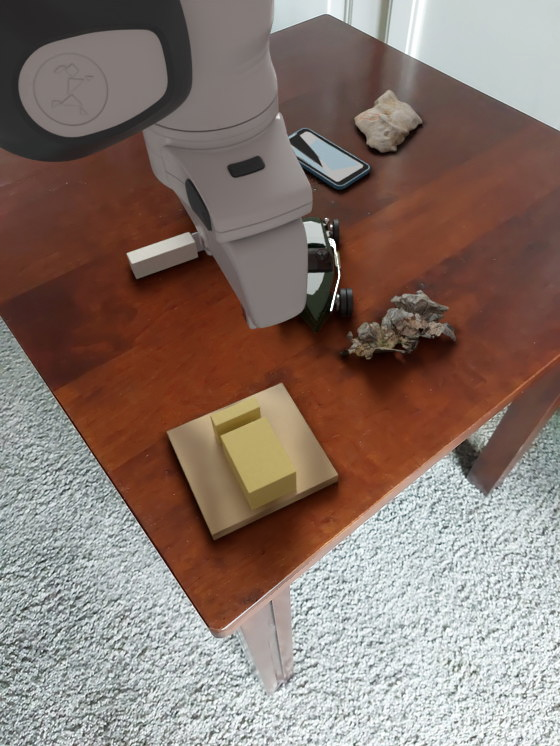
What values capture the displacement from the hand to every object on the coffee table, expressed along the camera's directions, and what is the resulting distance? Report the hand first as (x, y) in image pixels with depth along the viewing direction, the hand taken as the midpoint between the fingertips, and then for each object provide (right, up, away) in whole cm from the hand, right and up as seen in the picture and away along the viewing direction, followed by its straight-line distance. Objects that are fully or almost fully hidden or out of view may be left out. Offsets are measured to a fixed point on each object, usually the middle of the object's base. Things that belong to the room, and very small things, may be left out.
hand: (233, 283), depth 50 cm
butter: (+2, -18, +11) cm, 21 cm away
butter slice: (-1, -14, +14) cm, 20 cm away
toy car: (+8, +4, +29) cm, 30 cm away
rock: (+18, -3, +23) cm, 30 cm away
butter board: (+1, -17, +14) cm, 22 cm away
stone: (+22, +33, +49) cm, 63 cm away
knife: (-7, +10, +33) cm, 35 cm away
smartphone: (+11, +26, +44) cm, 52 cm away
